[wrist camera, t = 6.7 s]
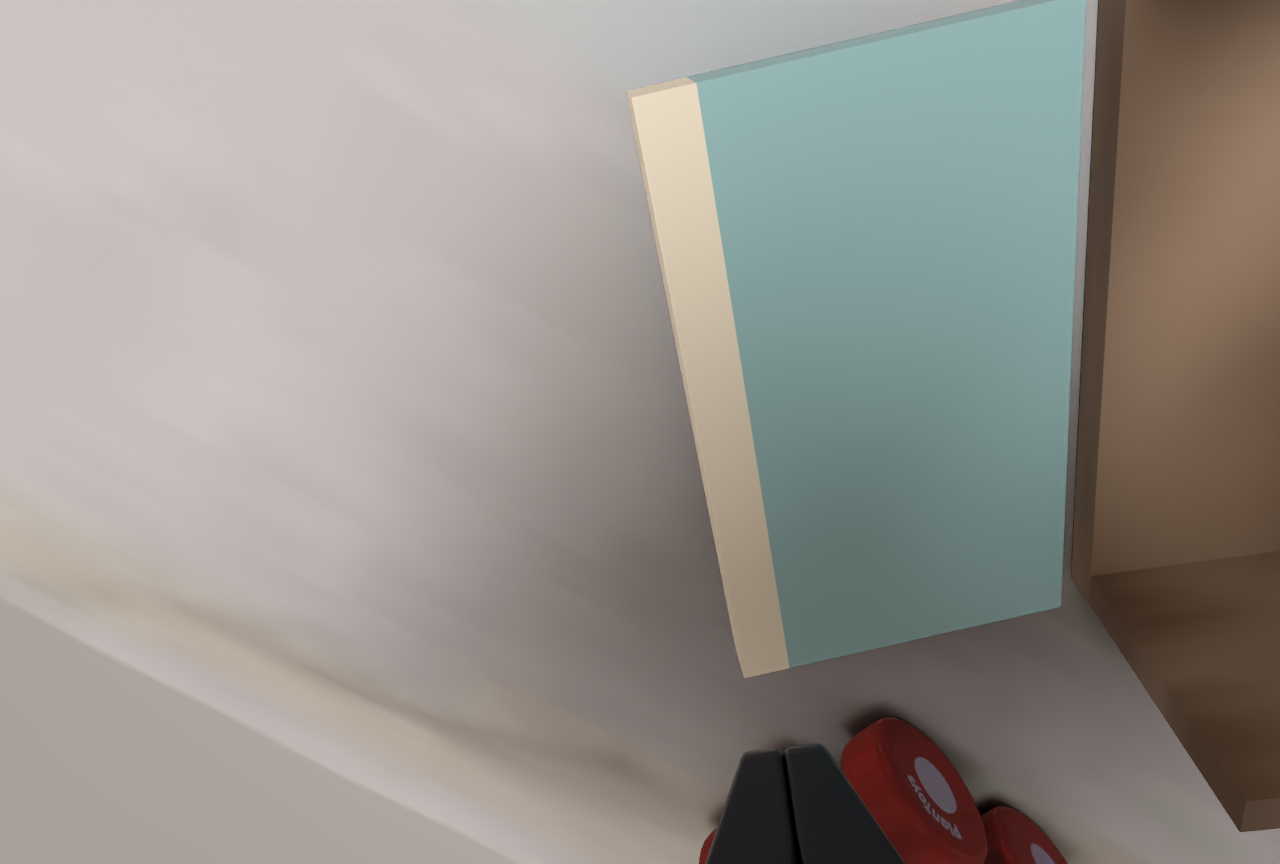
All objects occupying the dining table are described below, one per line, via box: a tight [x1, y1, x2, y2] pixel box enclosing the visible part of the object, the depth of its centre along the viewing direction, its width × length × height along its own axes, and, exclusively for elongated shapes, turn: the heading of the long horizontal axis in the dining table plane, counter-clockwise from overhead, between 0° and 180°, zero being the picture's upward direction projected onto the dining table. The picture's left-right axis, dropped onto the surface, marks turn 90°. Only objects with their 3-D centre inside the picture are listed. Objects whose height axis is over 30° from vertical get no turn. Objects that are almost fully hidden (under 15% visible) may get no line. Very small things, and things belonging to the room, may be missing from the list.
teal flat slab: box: [626, 0, 1086, 678], centre depth 16 cm, size 1×12×7 cm
